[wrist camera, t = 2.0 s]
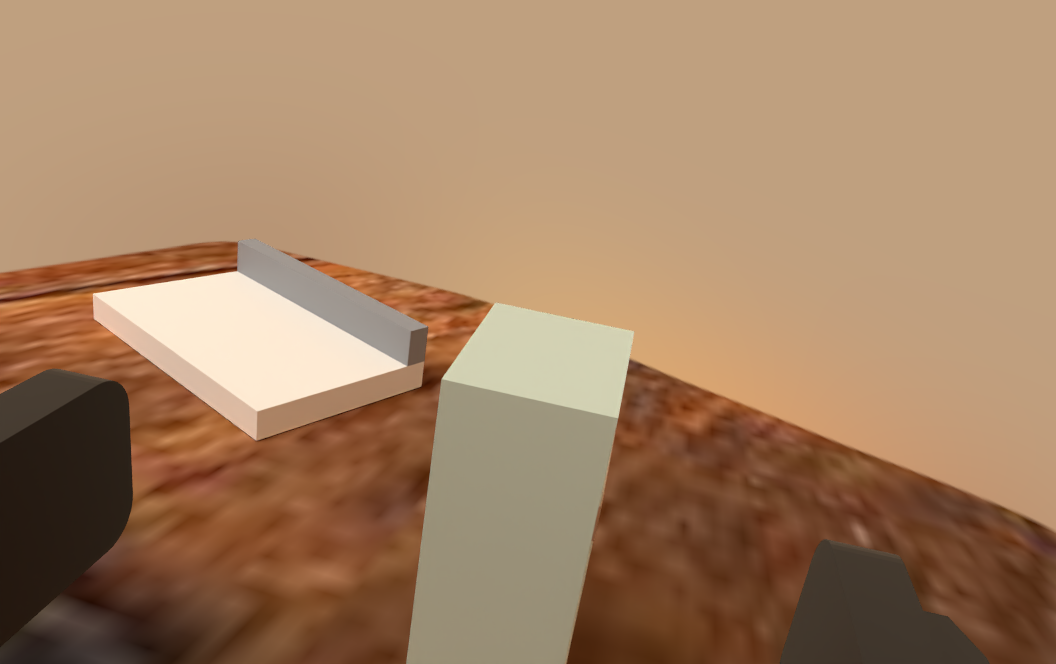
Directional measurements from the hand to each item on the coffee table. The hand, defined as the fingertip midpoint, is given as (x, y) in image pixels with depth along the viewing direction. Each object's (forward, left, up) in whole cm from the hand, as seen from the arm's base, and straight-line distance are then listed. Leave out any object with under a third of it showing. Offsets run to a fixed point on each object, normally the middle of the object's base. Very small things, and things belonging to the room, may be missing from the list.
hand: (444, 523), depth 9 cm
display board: (-15, +32, -14) cm, 39 cm away
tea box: (+1, +11, -14) cm, 18 cm away
